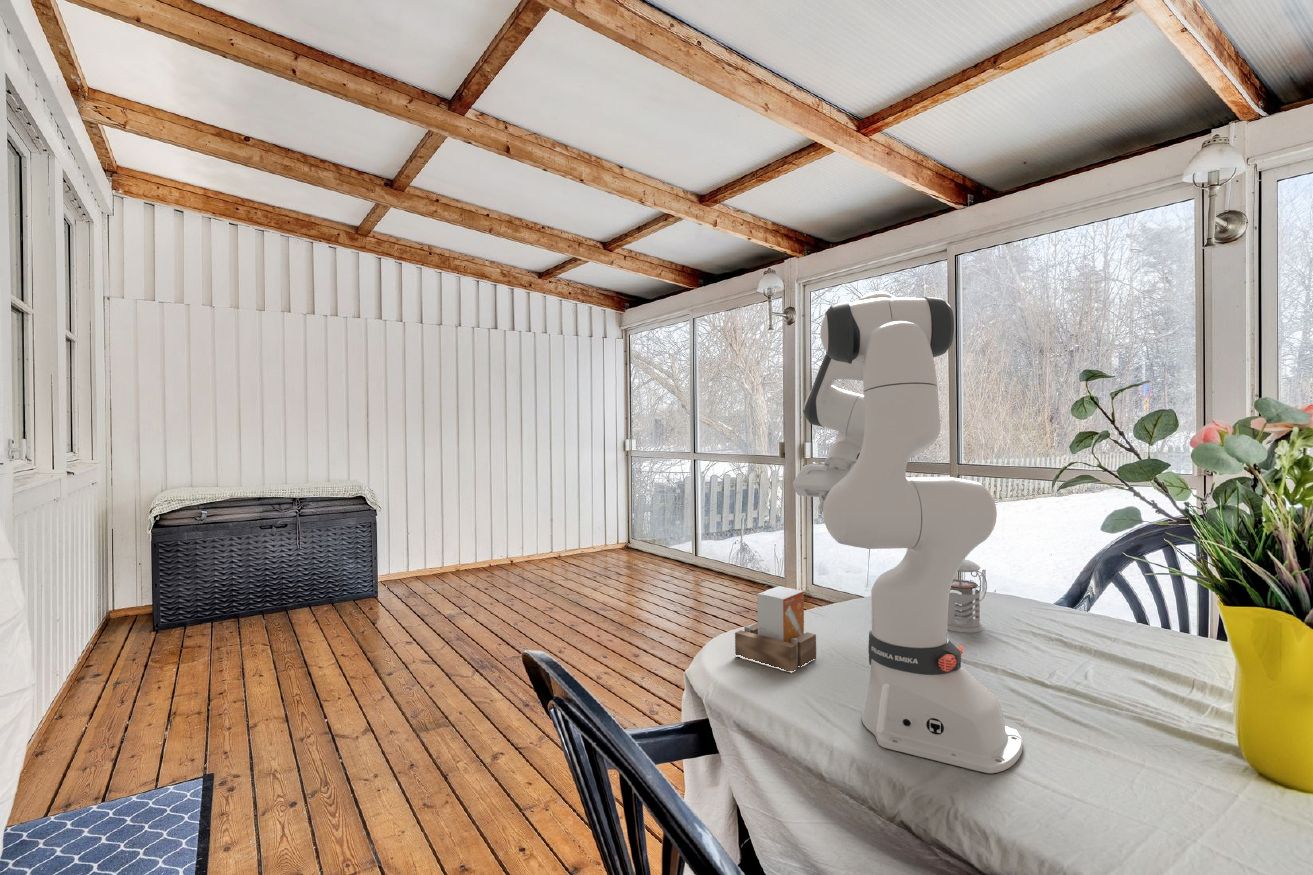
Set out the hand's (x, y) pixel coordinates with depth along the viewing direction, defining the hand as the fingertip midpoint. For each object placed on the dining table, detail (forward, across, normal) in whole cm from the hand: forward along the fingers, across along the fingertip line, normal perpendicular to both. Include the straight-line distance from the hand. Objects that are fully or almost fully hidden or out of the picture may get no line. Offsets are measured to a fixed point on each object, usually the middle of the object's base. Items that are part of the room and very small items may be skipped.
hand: (824, 510), depth 143 cm
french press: (+3, +22, +36) cm, 43 cm away
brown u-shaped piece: (+34, 0, +4) cm, 35 cm away
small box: (+33, 0, +6) cm, 33 cm away
